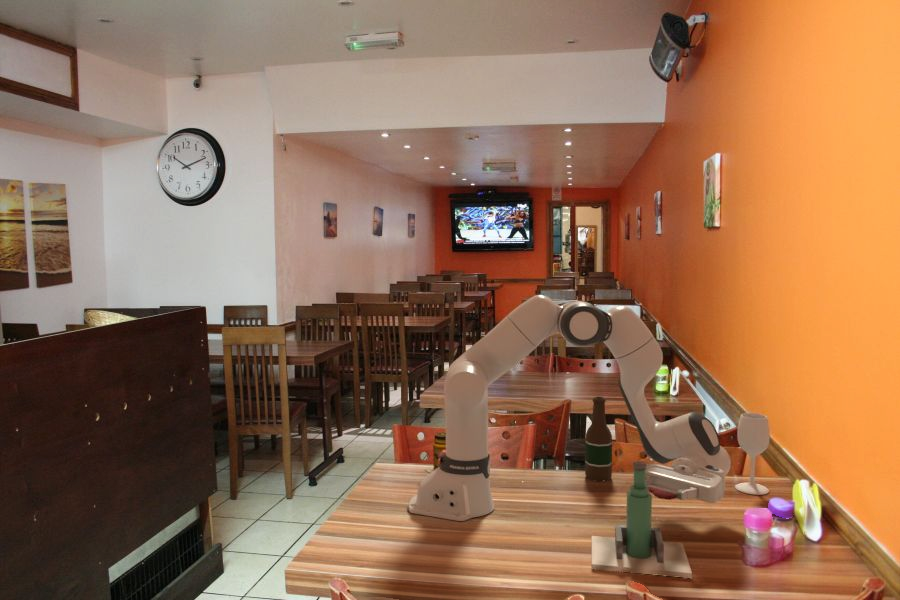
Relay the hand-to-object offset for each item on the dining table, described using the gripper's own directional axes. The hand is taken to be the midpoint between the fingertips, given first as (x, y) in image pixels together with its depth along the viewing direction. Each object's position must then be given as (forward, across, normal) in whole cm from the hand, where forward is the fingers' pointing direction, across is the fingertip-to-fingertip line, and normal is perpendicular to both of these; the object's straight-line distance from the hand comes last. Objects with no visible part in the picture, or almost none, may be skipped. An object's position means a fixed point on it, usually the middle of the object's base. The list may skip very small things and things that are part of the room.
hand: (660, 490), depth 147 cm
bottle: (+9, 0, +12) cm, 15 cm away
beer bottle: (-29, -36, +13) cm, 48 cm away
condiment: (+1, -72, +13) cm, 73 cm away
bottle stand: (+9, 0, +13) cm, 16 cm away
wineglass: (-51, 0, +13) cm, 53 cm away
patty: (-36, -14, +14) cm, 41 cm away
